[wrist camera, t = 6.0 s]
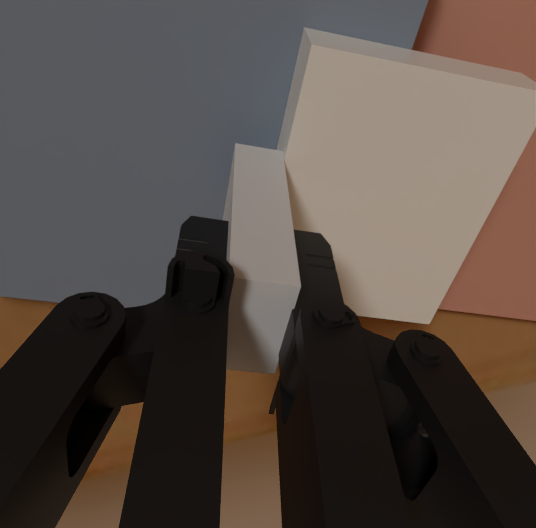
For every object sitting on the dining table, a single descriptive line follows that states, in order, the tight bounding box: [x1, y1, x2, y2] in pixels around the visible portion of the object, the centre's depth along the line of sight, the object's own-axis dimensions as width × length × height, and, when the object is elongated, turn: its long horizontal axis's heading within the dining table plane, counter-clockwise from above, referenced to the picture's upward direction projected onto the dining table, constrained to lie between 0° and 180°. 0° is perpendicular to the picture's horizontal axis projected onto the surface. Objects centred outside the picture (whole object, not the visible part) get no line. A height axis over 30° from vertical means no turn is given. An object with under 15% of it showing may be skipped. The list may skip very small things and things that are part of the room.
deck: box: [0, 0, 428, 308], centre depth 18 cm, size 16×15×3 cm
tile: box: [277, 27, 536, 324], centre depth 17 cm, size 7×9×2 cm
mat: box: [412, 0, 536, 321], centre depth 21 cm, size 15×14×1 cm
